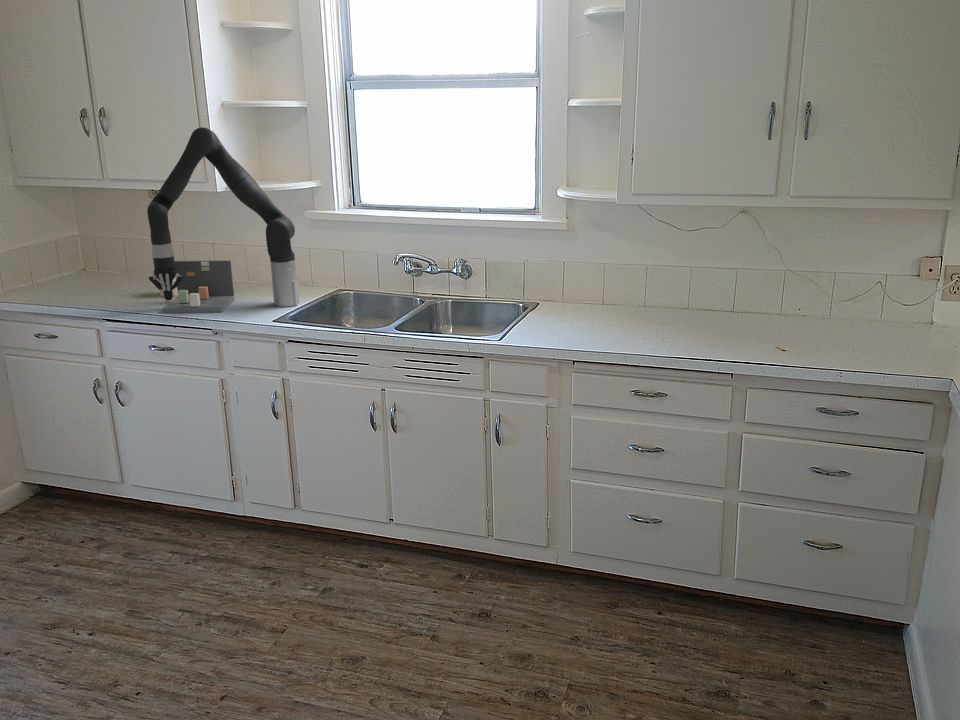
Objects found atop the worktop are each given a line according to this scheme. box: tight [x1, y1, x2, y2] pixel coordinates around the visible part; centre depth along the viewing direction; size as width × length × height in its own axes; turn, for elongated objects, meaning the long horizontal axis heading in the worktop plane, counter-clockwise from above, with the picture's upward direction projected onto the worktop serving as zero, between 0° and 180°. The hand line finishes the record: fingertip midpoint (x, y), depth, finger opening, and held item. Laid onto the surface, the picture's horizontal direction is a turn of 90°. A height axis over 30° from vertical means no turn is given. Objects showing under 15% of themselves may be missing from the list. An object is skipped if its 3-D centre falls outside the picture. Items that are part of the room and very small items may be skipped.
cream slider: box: [189, 293, 200, 306], centre depth 328 cm, size 3×2×4 cm
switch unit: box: [162, 259, 236, 314], centre depth 334 cm, size 22×19×16 cm
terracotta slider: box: [198, 286, 209, 299], centre depth 338 cm, size 3×2×4 cm
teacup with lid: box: [157, 276, 178, 298], centre depth 354 cm, size 12×9×12 cm
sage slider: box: [177, 290, 189, 303], centre depth 333 cm, size 3×2×4 cm
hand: (168, 299), depth 333 cm, fingers closed
